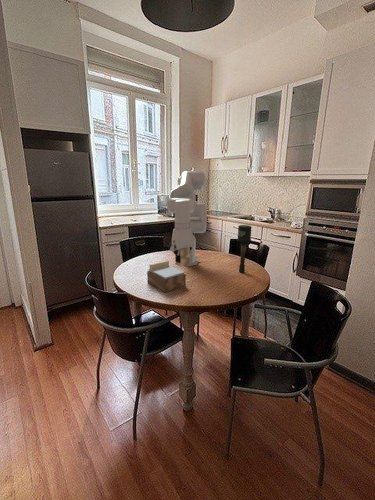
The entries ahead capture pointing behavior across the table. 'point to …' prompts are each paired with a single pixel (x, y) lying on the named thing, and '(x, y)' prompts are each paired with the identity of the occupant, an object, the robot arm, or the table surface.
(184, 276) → the toolbox
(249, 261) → the table surface
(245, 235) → the potato masher grenade
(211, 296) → the table surface
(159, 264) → the lid
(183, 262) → the cream upright block
